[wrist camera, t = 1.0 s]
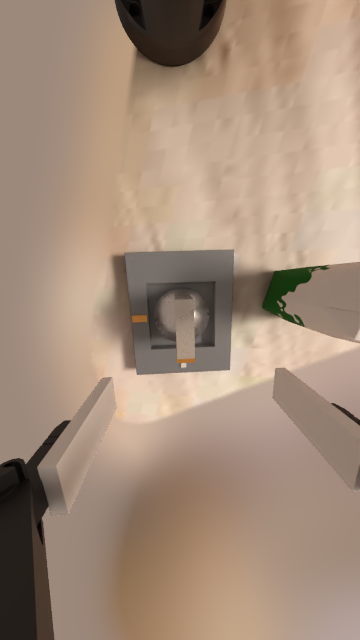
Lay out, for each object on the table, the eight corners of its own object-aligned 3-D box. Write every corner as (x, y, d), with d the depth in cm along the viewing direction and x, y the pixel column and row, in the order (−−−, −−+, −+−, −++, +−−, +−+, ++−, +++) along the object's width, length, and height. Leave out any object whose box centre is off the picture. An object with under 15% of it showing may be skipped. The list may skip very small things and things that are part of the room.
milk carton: (314, 276, 32) (527, 270, 13) (296, 321, 34) (458, 375, 15) (271, 264, 32) (430, 239, 12) (255, 311, 33) (370, 355, 14)
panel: (128, 255, 30) (124, 252, 27) (229, 252, 31) (234, 249, 28) (139, 368, 35) (136, 375, 32) (225, 363, 36) (230, 370, 33)
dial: (153, 288, 31) (143, 292, 21) (207, 286, 31) (224, 289, 21) (156, 340, 33) (149, 367, 23) (207, 338, 34) (222, 363, 23)
